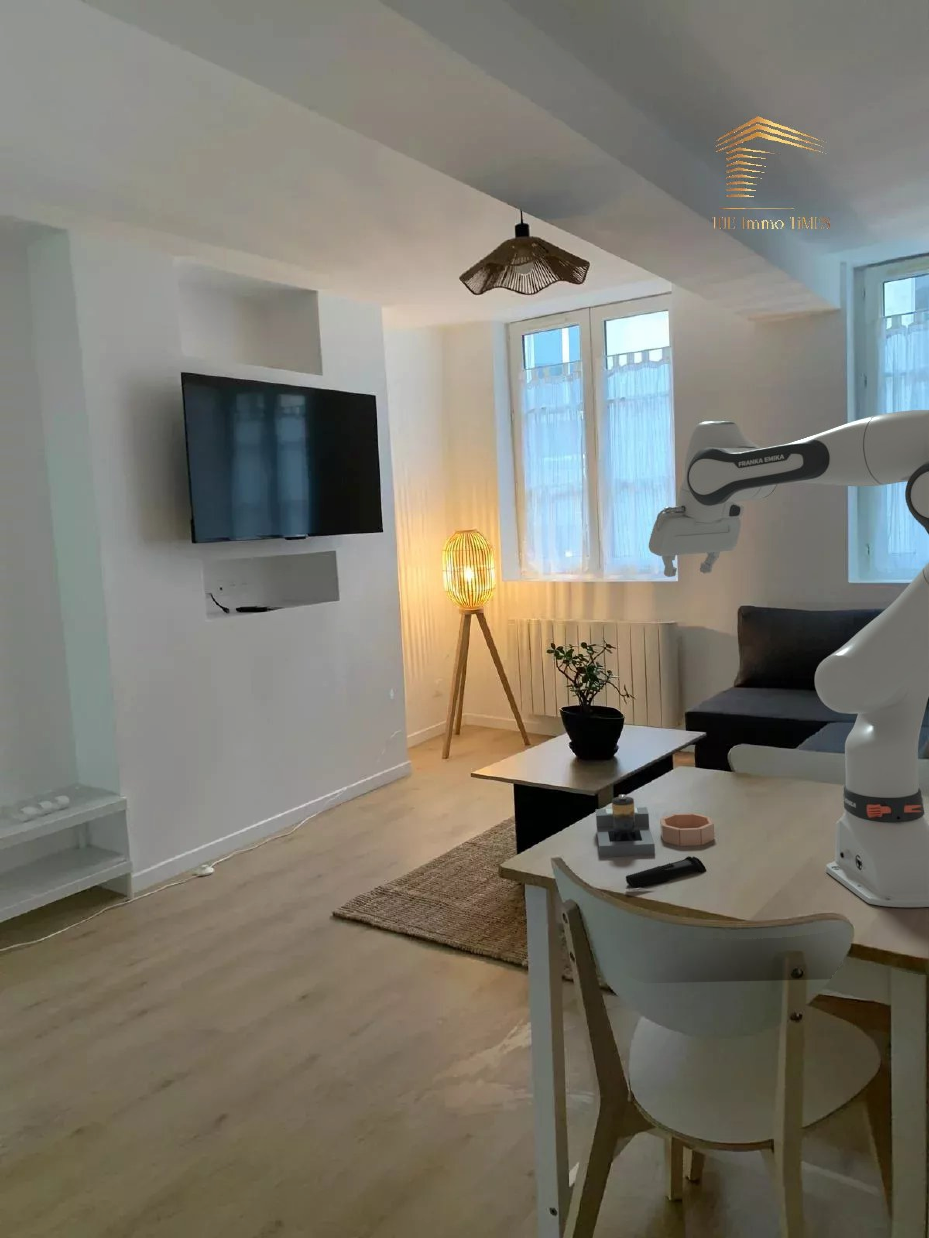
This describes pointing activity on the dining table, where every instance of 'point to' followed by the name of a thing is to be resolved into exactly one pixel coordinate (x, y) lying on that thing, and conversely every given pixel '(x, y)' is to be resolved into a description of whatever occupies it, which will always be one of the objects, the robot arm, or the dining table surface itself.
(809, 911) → the dining table surface
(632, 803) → the cell
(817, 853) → the dining table surface
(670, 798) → the dining table surface
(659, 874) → the electric trimmer
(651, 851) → the grey charging dock
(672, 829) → the dish
